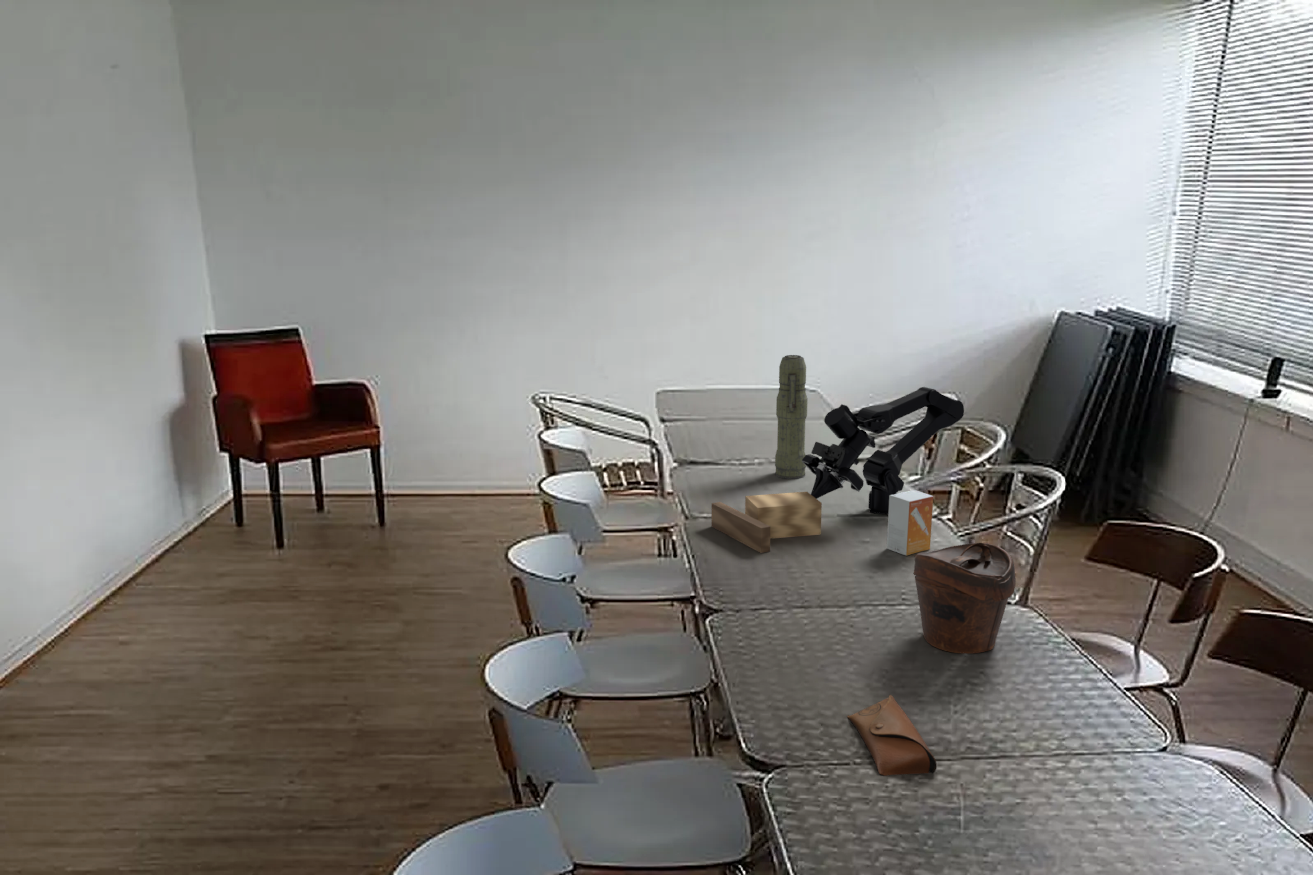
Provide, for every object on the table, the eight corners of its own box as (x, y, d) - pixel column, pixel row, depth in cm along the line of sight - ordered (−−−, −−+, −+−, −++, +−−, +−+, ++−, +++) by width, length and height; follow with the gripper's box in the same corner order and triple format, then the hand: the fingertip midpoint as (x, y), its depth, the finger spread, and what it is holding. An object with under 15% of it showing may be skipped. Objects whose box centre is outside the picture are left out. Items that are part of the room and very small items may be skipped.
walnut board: (720, 524, 253) (720, 501, 251) (770, 551, 234) (770, 526, 232) (711, 526, 251) (711, 503, 250) (761, 553, 233) (761, 528, 231)
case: (1008, 621, 194) (1014, 532, 190) (1015, 668, 176) (1021, 570, 171) (912, 613, 199) (915, 526, 195) (909, 658, 180) (912, 563, 176)
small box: (906, 556, 230) (909, 501, 227) (885, 548, 235) (888, 494, 232) (931, 549, 234) (934, 495, 231) (910, 542, 239) (913, 489, 236)
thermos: (802, 469, 303) (805, 352, 294) (808, 480, 291) (811, 359, 283) (773, 469, 303) (775, 353, 295) (777, 480, 291) (779, 359, 283)
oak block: (806, 522, 255) (806, 491, 253) (820, 534, 245) (821, 503, 243) (745, 527, 251) (745, 496, 249) (757, 540, 242) (757, 507, 240)
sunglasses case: (842, 714, 160) (865, 679, 159) (878, 732, 162) (901, 698, 161) (880, 777, 143) (905, 739, 142) (919, 797, 145) (945, 759, 144)
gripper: (809, 423, 257) (771, 470, 255) (856, 438, 241) (816, 488, 239) (832, 449, 263) (796, 496, 260) (880, 465, 247) (842, 515, 244)
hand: (811, 498), depth 251 cm, fingers closed
